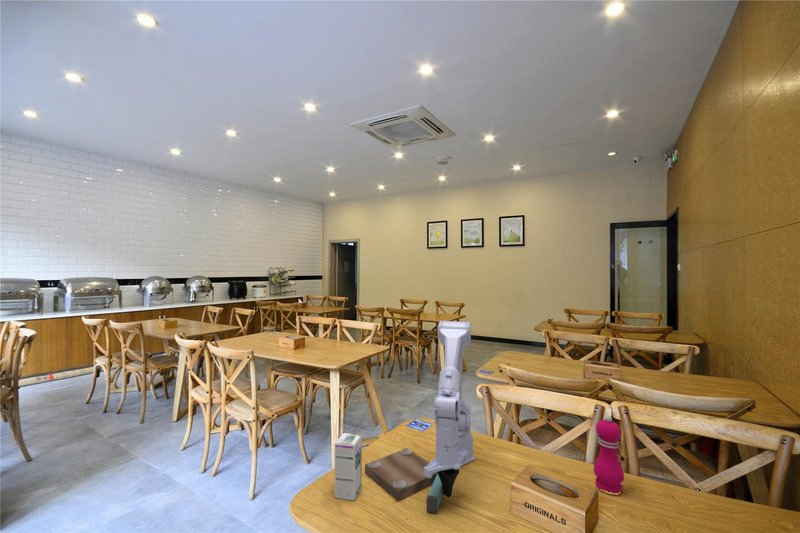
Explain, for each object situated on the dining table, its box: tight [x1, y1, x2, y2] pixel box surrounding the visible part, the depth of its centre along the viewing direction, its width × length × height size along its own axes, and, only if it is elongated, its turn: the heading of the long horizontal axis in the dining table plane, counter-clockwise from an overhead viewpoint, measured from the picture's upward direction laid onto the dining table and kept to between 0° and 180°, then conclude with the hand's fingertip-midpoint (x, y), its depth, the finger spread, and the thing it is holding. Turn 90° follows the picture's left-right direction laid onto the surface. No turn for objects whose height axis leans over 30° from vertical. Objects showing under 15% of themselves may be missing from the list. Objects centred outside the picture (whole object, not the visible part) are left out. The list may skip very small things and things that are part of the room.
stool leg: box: [426, 474, 444, 514], centre depth 91 cm, size 14×3×3 cm, turn 160°
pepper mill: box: [593, 414, 625, 493], centre depth 95 cm, size 7×7×20 cm
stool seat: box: [364, 447, 437, 502], centre depth 100 cm, size 16×16×3 cm
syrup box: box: [334, 432, 363, 501], centre depth 92 cm, size 6×6×14 cm
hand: (446, 495), depth 89 cm, fingers closed
